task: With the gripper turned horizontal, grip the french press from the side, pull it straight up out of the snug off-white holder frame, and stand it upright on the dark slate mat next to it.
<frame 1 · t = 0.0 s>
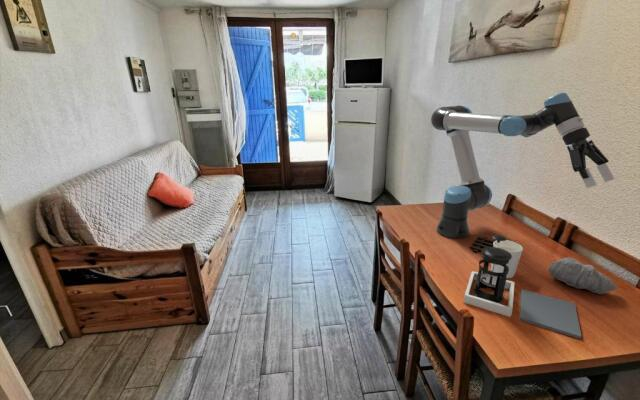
hand: (601, 183, 109), 36 cm above the table, tool tilted 35°, fingers open, 13 cm apart
seashell: (577, 286, 111), on the table
french press: (488, 296, 107), resting in holder frame
slate mat: (547, 312, 98), on the table
holder frame: (488, 295, 107), on the table
candle holder: (502, 272, 121), on the table
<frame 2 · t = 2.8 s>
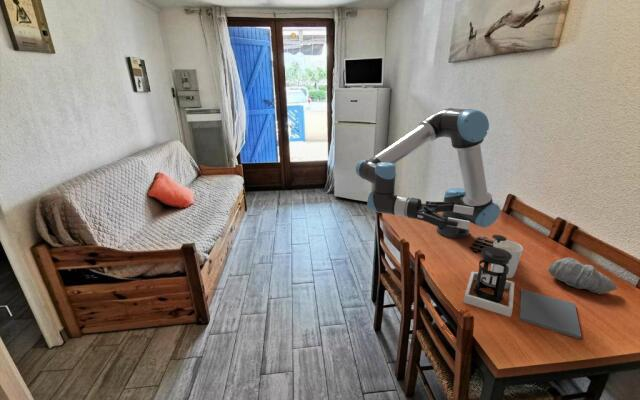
hand: (471, 218, 102), 28 cm above the table, tool horizontal, fingers open, 13 cm apart
nothing on the table moved.
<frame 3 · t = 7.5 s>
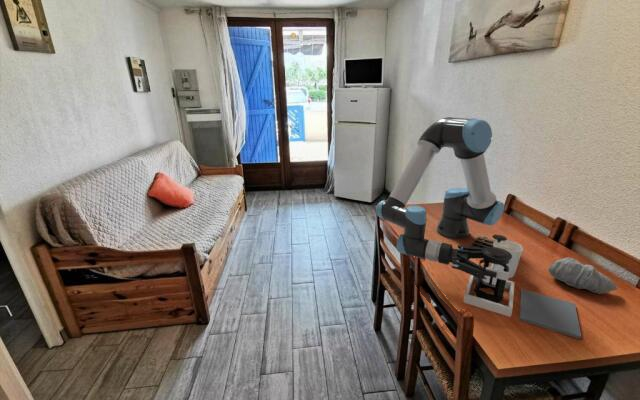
hand: (508, 268, 101), 13 cm above the table, tool horizontal, fingers closed on french press, 10 cm apart
french press: (488, 295, 107), resting in holder frame, touching gripper
everything else where it was.
when the fingers open (14 cm above the table, at t = 13.7 s): french press stays where it is, resting on slate mat.
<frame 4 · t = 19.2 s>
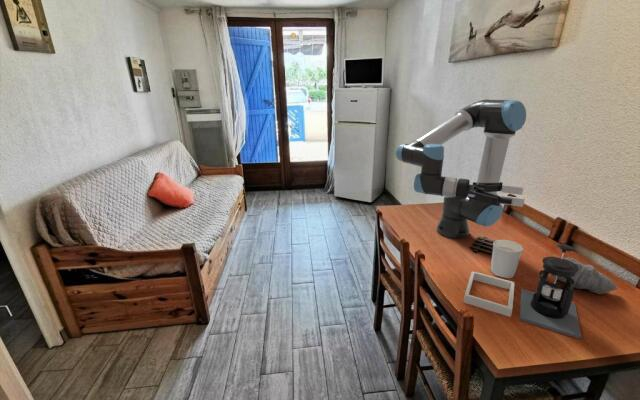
hand: (523, 196, 104), 34 cm above the table, tool horizontal, fingers open, 13 cm apart
french press: (548, 310, 98), point 1 cm above the table, touching slate mat
everything else where it was.
at the end: french press 0.3 cm from the slate mat (horizontally); french press touching slate mat; french press tilted 0° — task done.
